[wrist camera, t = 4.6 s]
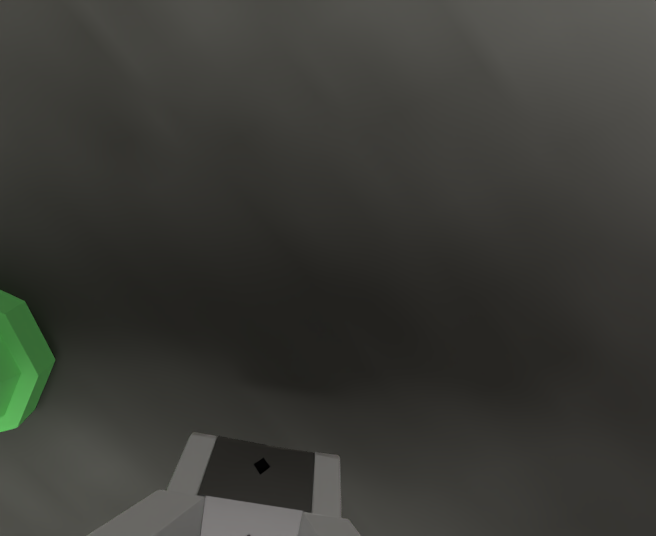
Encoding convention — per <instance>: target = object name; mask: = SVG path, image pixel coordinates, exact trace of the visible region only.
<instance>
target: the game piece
mask: <svg viewBox="0 0 656 536" xmlns="http://www.w3.org/2000/svg"><path fill="white" fill-rule="evenodd" d="M54 363H55V358H54V356H53V354H52V352H51V350H50V348H49V346H48V344H47V342H46V340H45V339H44V337H43V335H42V333H41V331H40V329H39V327H38V325H37V323H36V321H35V319H34V317H33V316H32V314H31V312H30V310H29V308H28V306H27V304H26V302H25V301H24V300H21V299H19V298H17V297H15V296H13V295H11V294H9V293H6V292H4V291H2V290H0V432H3V431H7V430H10V429H14V428H17V427H18V426H19V425H20V424H21V423H22V422H23V421H24V420H25V419H26V418H27V417H28V416H29V415H30V414H31V413H32V412H33V411H34V410H35V408H36V406H37V403H38V401H39V399H40V396H41V394H42V391H43V389H44V387H45V384H46V382H47V379H48V377H49V375H50V372H51V370H52V367H53V365H54Z"/></svg>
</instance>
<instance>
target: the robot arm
mask: <svg viewBox="0 0 656 536" xmlns="http://www.w3.org/2000/svg"><path fill="white" fill-rule="evenodd" d="M87 536H361V535H360V533H359V532H358V531H357V529H356V528H355V527H354V525H353V524H352V523H351V521H350V520H349V519H345V518H341V474H340V457H339V455H335V454H327V453H320V452H314V453H313V452H308V451H301V450H295V449H288V448H282V447H276V446H269V445H265V444H259V443H254V442H248V441H243V440H238V439H232V438H227V437H221V436H218V437H217V436H214V435H209V434H203V433H197V432H193V433H192V434H191V435H190V436H189V438H188V441H187V443H186V445H185V448H184V450H183V452H182V455H181V457H180V459H179V462H178V464H177V466H176V468H175V471H174V473H173V475H172V478H171V480H170V482H169V485H168V487H167V489H166V491H165V490H157V491H155V492H154V493H152V494H150V495H149V496H147V497H146V498H144V499H143V500H141V501H140V502H138V503H136V504H135V505H133V506H132V507H130V508H129V509H127V510H126V511H124V512H123V513H121V514H119V515H118V516H116V517H115V518H113V519H112V520H110V521H109V522H107V523H105V524H104V525H102V526H101V527H99V528H98V529H96V530H95V531H93V532H91V533H90V534H88V535H87Z"/></svg>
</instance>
